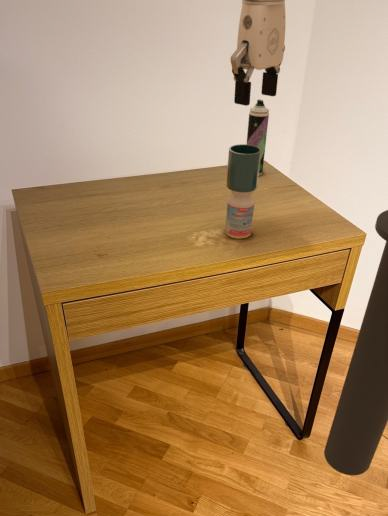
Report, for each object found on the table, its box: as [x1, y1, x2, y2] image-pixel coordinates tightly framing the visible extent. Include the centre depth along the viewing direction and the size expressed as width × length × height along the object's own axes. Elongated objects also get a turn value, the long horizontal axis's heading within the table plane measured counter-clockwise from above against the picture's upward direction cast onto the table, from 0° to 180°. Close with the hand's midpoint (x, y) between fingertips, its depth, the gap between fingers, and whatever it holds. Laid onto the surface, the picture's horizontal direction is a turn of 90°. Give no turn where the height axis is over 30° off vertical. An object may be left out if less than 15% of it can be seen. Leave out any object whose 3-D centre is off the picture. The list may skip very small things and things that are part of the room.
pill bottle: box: [224, 190, 255, 240], centre depth 112 cm, size 6×6×11 cm
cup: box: [225, 143, 261, 192], centre depth 106 cm, size 7×7×8 cm
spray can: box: [246, 99, 270, 177], centre depth 141 cm, size 6×6×20 cm
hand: (255, 99), depth 98 cm, fingers open, 9 cm apart
